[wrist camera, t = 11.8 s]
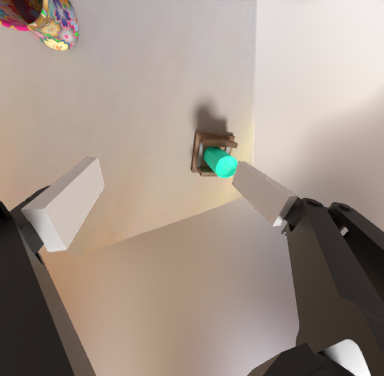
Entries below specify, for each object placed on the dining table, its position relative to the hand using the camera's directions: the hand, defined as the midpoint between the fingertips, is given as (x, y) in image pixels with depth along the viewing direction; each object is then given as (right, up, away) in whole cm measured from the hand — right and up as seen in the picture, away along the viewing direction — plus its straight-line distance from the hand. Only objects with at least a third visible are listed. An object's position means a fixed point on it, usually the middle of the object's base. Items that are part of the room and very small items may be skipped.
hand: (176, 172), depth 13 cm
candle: (+8, +9, +30) cm, 32 cm away
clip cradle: (+8, +9, +31) cm, 33 cm away
